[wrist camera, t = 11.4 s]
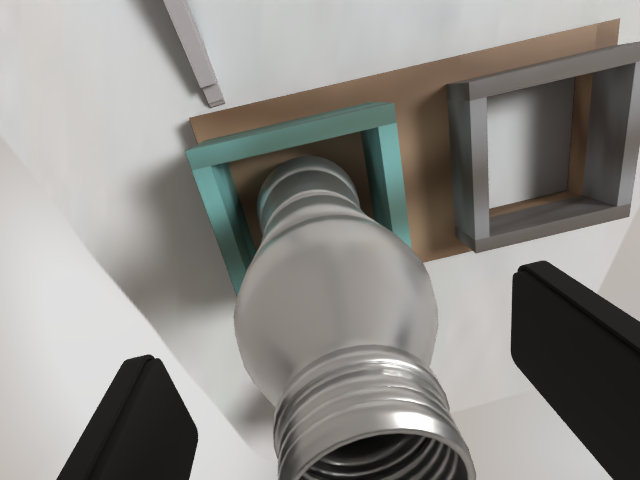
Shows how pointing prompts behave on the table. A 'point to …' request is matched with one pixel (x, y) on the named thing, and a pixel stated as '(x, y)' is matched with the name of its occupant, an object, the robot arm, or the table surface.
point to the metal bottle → (343, 337)
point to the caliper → (195, 50)
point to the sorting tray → (432, 146)
